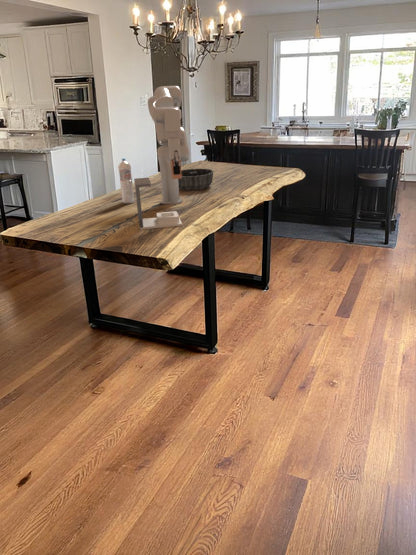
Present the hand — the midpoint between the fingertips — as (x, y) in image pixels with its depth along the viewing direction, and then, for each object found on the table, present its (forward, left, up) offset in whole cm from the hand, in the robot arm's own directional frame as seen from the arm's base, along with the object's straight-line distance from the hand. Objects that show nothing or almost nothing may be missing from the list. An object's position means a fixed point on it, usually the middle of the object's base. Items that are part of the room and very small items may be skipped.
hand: (176, 173), depth 230 cm
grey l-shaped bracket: (+11, -18, -21) cm, 29 cm away
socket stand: (+11, -11, -22) cm, 27 cm away
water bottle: (-37, -25, -22) cm, 50 cm away
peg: (0, 0, -2) cm, 2 cm away
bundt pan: (-62, +17, -22) cm, 68 cm away
